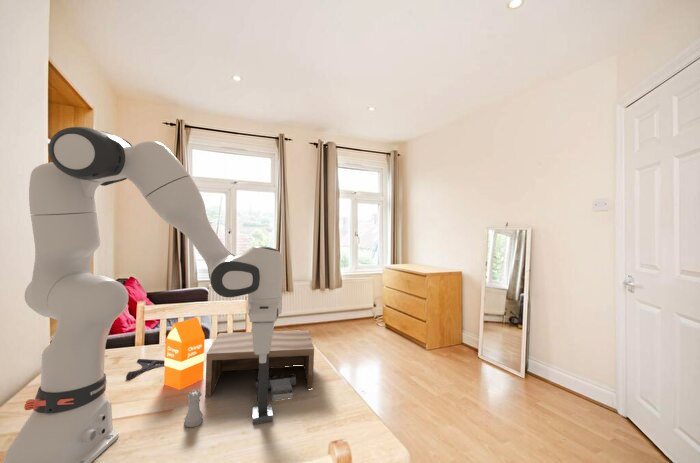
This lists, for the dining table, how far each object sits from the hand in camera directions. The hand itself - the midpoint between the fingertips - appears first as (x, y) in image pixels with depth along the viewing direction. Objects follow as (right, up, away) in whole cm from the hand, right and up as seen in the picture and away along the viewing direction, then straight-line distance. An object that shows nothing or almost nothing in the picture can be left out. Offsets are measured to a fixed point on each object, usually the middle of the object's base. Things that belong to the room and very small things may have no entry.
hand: (263, 359), depth 85 cm
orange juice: (-31, -16, +20) cm, 41 cm away
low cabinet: (-7, -16, +24) cm, 29 cm away
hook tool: (+1, -15, +9) cm, 18 cm away
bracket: (-49, -16, +28) cm, 59 cm away
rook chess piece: (-17, -16, -2) cm, 24 cm away
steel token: (+2, -16, +13) cm, 21 cm away
